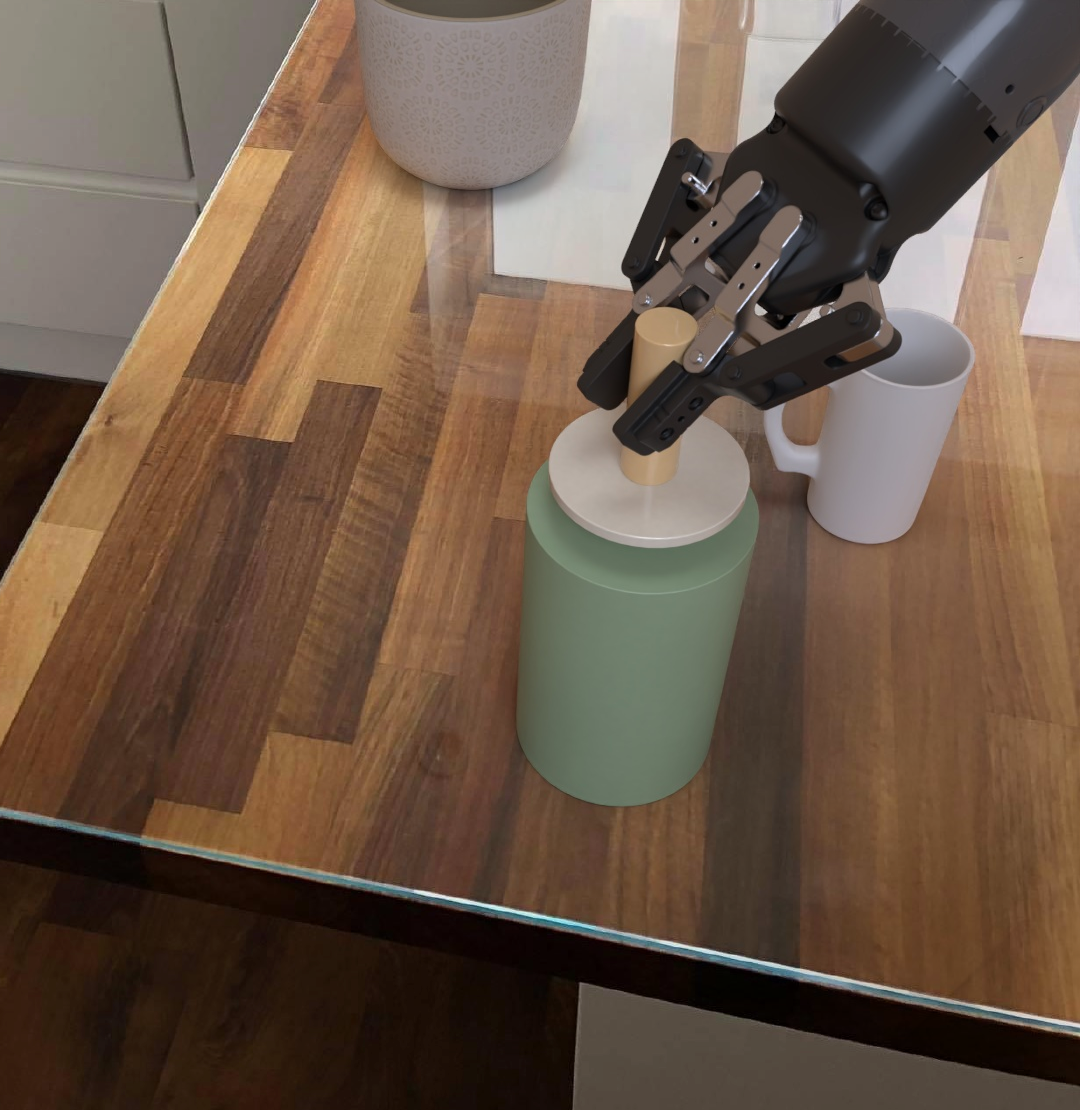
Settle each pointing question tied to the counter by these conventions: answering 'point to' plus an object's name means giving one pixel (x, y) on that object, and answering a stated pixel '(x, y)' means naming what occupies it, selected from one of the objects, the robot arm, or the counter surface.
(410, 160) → the planter
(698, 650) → the cylinder
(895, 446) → the mug
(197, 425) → the counter surface
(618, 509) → the lid
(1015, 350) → the counter surface
